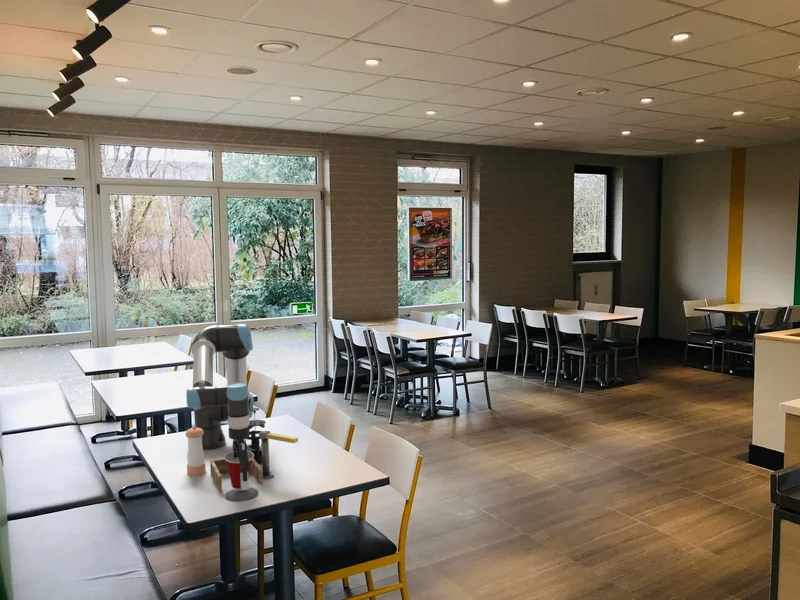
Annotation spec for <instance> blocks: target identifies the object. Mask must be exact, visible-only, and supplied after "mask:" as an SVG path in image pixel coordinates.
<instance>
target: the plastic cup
mask: <svg viewBox="0 0 800 600" xmlns="http://www.w3.org/2000/svg"><path fill="white" fill-rule="evenodd" d="M247 454H248V462H249V469H250V468H251V463H252V459H253V457H254V454H253V453H252V452H250V451H249V450H247ZM224 458H225V460H226V463H227V466H228V471H229V473H228V476H229V480H230V485H231V487H232V488H233V489H240V488H241V477H240V473H239V471H241V468H240V462H234V461H237V460H239V457H236V458H234V451H229V452H227V453H225V454H224V457H223V459H224ZM244 469H246V468H244ZM250 473H251V472H250V471H249V472H248V477H249V478H250Z"/></svg>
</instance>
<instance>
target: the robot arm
mask: <svg viewBox="0 0 800 600" xmlns="http://www.w3.org/2000/svg"><path fill="white" fill-rule="evenodd" d="M253 349H254V346H253V339H252V332H251V329H250V325H248V324H247V323H235V324H219V325H218V324H217V325H216V324H214V325H212V324H211V325H209V326H207V327H204V328H203V329H202V330H200V331H199V332H198V333H197V334H196V335H195V337H194V338H193V341H192V342H191V348H190V350H191V354H192V356H193V366H192V367H193V369H192V387H189V388H188V387H187V388H186V391H185V393H186V406H187V407H188V408H190V409H193V411H194V412H193V413H194V415H193V416H194V426H195V427H197V428H201V429H202V430H203V432H204V434H203V436H202V447H203V451H204V450H212V449H214V450H215V449H218V448H220V447H223V446H225V445H226V442H227V440H226V436H225V434H224V430H223V428H222V423H223V422H228V438H229V439H230V440H232V451H234V458H236V457H239V460H237V461H234V462H240V468H241V471H239V473H240V477H241V490H245V489H249V488H250V482H249V479H250V476H249V477H248V472H249V471H250V469H249V462H248V454H247V451H248V450H247V446H248V444H247V441H246V442H245V438H248V437H251V435H250V432H251V431H250V430H251V429H250V427H249V426H248V425H249V424H250V423H249V421H250V420H251V419H252V417H253V415H254V413H253V411H250V410H249V409H251V408H254V403H255V402H254V401H255V400H254V395H253V394H252V393H250V391H249V388H248V385H247V382H248V381H247V380H248V379H247V378H248V377H247V357H248V355H249V354H250V352H251V351H252V350H253ZM215 353H222V356H223V357H224V358H225V363H226V365H225V366H226V382H227V384H226V385H215V386H214V363H213V362H214V355H215ZM244 468H246V469H244Z"/></svg>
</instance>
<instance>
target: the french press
mask: <svg viewBox="0 0 800 600" xmlns="http://www.w3.org/2000/svg"><path fill="white" fill-rule="evenodd" d="M249 410H250V411H253V415H254V416H253V417H254V418H253V420H251V419H250V420H249V423H250V424H249V425H248V426H249V427H250V430H251V429H253V428H254V430H251V431H250V436H249V437H248V438H245V439H244V441H245V442H246V443H247V440H249V441H250V442H251V444H247V451H250V452H252V453H253V454H254V457H253V458H254V459H255V461H256V462H257V463H258V465H262V446H261V443H260V440H261V439H260V438H259V432H261V431H262V430H256V429H257V427H261V428H262V429H264V428H265V427H266V426H265V424H266V420H263V419H256V413H257V411H259V410H260V408H259V407H253V408H251V409H249ZM257 435H258V436H257Z"/></svg>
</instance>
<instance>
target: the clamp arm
mask: <svg viewBox="0 0 800 600" xmlns="http://www.w3.org/2000/svg"><path fill="white" fill-rule="evenodd" d="M260 431H261V432H259V434H258V436H259V438H260V439H259V440H261V439H268V440H274V441H279V442H285V443H290V444H296V443H299V437H297V436H291V435H285V434H278V433H273V432H271V431H270V430H260Z"/></svg>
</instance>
